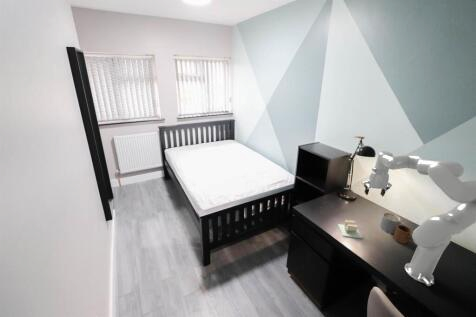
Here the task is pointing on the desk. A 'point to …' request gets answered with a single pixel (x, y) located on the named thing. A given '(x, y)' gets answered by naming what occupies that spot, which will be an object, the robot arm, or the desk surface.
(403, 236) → the mug
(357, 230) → the trivet
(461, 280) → the desk surface
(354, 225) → the maple block
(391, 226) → the coffee mug
